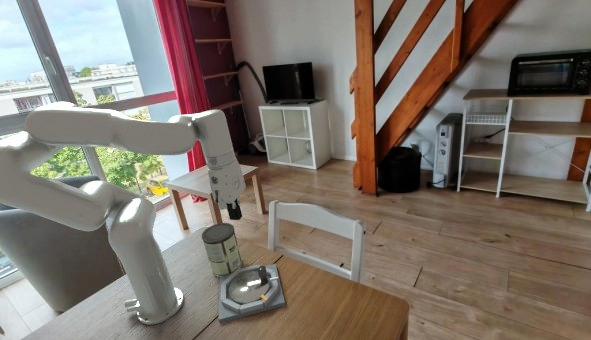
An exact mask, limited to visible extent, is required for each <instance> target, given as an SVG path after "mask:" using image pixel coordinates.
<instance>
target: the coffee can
mask: <svg viewBox="0 0 591 340" xmlns="http://www.w3.org/2000/svg"><path fill="white" fill-rule="evenodd" d="M201 240H202V242H203V245H204V249H205V251H206V255H207V259H208V263H209V266H210V269H211V273H212V275H213V276H215V277H217V278H220V277H222V276H226V275H230V274H232V273H233V272H235V271H236V270H237V271H238V269H241V268H242V266H243V260H242V258H241V254H240V250H239V249H240V248H239V245H238V241H237V236H236V233H235V226H234V225H233V224H231V223H228V222H220V223H216V224H212V225H211V226H209V227H207V228H206V229H204V230H203V232H202V234H201Z"/></svg>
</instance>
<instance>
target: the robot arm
mask: <svg viewBox="0 0 591 340" xmlns="http://www.w3.org/2000/svg"><path fill="white" fill-rule="evenodd" d="M227 121H228V120H227V118H226V115H225V113H224V111H223V110H221V109H209V110H206V111H201V112H199V113H192V114H191V113H190V114H187V113H186V114H177V115H173V116H171V117H169V119H168V120H166V121H153V120H151V121H150V120H143V119H137V118H132V117H129V116H126V115H125V114H123V113H121V112H120V111H117V110H115V109H103V108H87V107H80V106H79V105H77V104H74V103H72V102H70V101H55V102H51V103H47V104H45V105H41V106H38V107H35V108H34V109H32V110H30V112H29V113H27V116H26V118H25V122H24V127H23V128H21V129H20V130H19V131H17V132H15V133H14V134H12V135H9V136H7V137H3V138H1V139H0V204H2V205H4V206H7V207H11V208H15V209H19V210H22V211H25V212H28V213H31V214H33V215H36V216H39V217H42V218H44V219H48V220H51V221H53V222H56V223H58V224H61V225H64V226H68V227H70V228H72V229H75V230H79V231H83V232H93V231H96V230H98V229H100V228H101V227H102V226H103V225H104V224H105V223H106V222H107V220H108V219H109V218H110V219H112V222H111V224H110V227H109V230H108V235H107V237H108V238H107V239H108V243H109V245H110V247H111V248H112V251H114V253H115V254H116V255H117V257H118V260H119V261H120V263H121V265H122V267H123V270H124V271H125V274H126V277H127V278H128V281H129V283H130V286H131V288H132V290H133V293H134V294H135V296H136V297H135V298H133V299H127V300H125V301H124V307H125V308H126V312H127V313H131V312H135V311H136V316H137V318H138V321H139V322H140V323H142V324H143V325H151V326H152V325H156V324H157V325H158V324H160V323H163V322H165V321H167V320H168V319H170V318H172V317H173V316H175V314H176V313H177V312H178V311H180V309H181V308H182V306H183V304H184V300H185V299H184V294H183V291H181V289H179V288H177V287H175V286H174V283H173V281H172V277H171V275H170V272H169V270H168V266H167V263H166V260H165V257H164V255H163V253H162V249H161V247H160V246H159V243H158V242H157V240H156V238H155V236H154V232H153V229H154V226H155V221H156V218H157V209H156V205H155V204H154V203H153V202H152V201H151V200H150V199H148V198H146V197H144V196H142V195H140V194H138V193H136V192H133V191H131V190H128V189H126V188H124V187H121V186H119V185H117V184H115V183H112V182H109V181H105V180H91V181H88V182H85V183H84V184H82V185H81V186H80V187H79V188H78V187H75V186H72V185H70V184H66V183H64V182H62V181H60V180H57V179H53V178H50V177H49V178H48V177H44V176H37V175H33V174H32V173H31V172H33V171H34V170H36V169H37V168H38V167H40V166H42V165H43V164H45V163H46V162H48V161H49V160H50V159H51V158H53V156H55V155H56V154H57V153H59V152H60V151H62V150H63V149H64V148H65V147H90V148H93V147H94V148H111V149H112V148H113V149H117V150H119V151H125V152H130V153H134V154H139V155H148V156H179V155H185V154H187V153H189V152H191V150H193V149H194V147H195V145H196V142H197V141H199V142H200V146H201V149H202V154H203V157H204V160H205V163H206V167H207V173H208V181H209V186H210V191H211V193H212V198H213V201H214V202H215V204H218V209H219V210H226V209H227V213H228V216H229V217H228V218H229V220H231V221H240V220H241V219H242V218H243V213H242V210H241V209H242V208H241V204H240V203H241V201H240V200H241V199H240V196H241V195H242V193H243V192H244V191H245V190H246V188H247V186H246V182H245V178H244V175H243V172H242V168H241V165H240V163H239V161H238V159H237V157H236V154H235V150H234V146H233V142H232V139H231V134H230V129H229V127H228V126H229V125H228V122H227Z"/></svg>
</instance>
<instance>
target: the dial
mask: <svg viewBox="0 0 591 340" xmlns="http://www.w3.org/2000/svg"><path fill="white" fill-rule="evenodd" d="M265 266H266V265H260V267H258V271H251V272H246V273H244V274H241V275H239V276H238V277H236V278H235V279H234V280H233V281H232V283H231V284H230V286H229V295H230V298H231V299H232V301H233V302H235V303H237V304H240V305H244V304H248V303H252V302H255V301H259V300H261V299H262V298H261V297H260V296H261V295H264V296H265V295H266V294H267V293H268V291H269V289H270V282H269V278H268V277H267V272H266V267H265Z"/></svg>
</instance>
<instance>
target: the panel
mask: <svg viewBox="0 0 591 340" xmlns="http://www.w3.org/2000/svg"><path fill="white" fill-rule="evenodd" d="M260 266H261V265H260V264H258V265H257V264H254V265H250V266H246V267H243V268H242V267H241V268H240V269H238V271H237V270H236V271H235V272H233V273H232V274H230V275H226V276H222V277H219V293H218V294H219V295H218V323H220V324H221V323H224V322H228V321H232V320H235V319H238V318H239V319H240V318H242V317H247V316H251V315H255V314H258V313H263V312H265V311H270V310H273V309H277V308H281V307H285V306H286V301H285V298H284V294H283V289H282V286H281V281H280V277H279V273H278V269H277V264H276V263H273V264H268V265H264V266H265V267H266V272H267V277H268V278H269V282H270V289H269V291H268V293H267V294H266V295H265V296H264V295H261V296H260V297H261V298H262V299H261V300H259V301H255V302H252V303H248V304H244V305H240V304H237V303H235V302H233V301H232V299H231V298H230V295H229V286H230V284H231V283H232V281H233V280H234V279H235V278H236V277H238V276H239V275H241V274H244V273H246V272H251V271H258V267H260Z"/></svg>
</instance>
